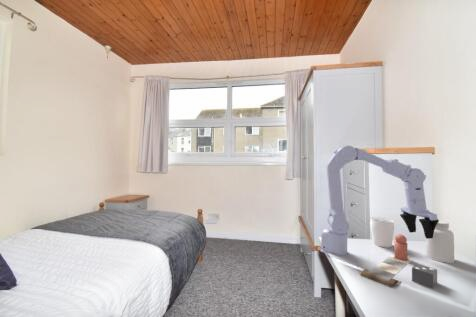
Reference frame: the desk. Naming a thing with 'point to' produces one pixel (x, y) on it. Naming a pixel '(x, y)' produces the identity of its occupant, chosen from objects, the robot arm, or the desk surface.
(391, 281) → the board
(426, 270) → the dark grey block
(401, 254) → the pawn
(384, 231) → the cup
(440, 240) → the pill bottle
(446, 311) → the desk surface
